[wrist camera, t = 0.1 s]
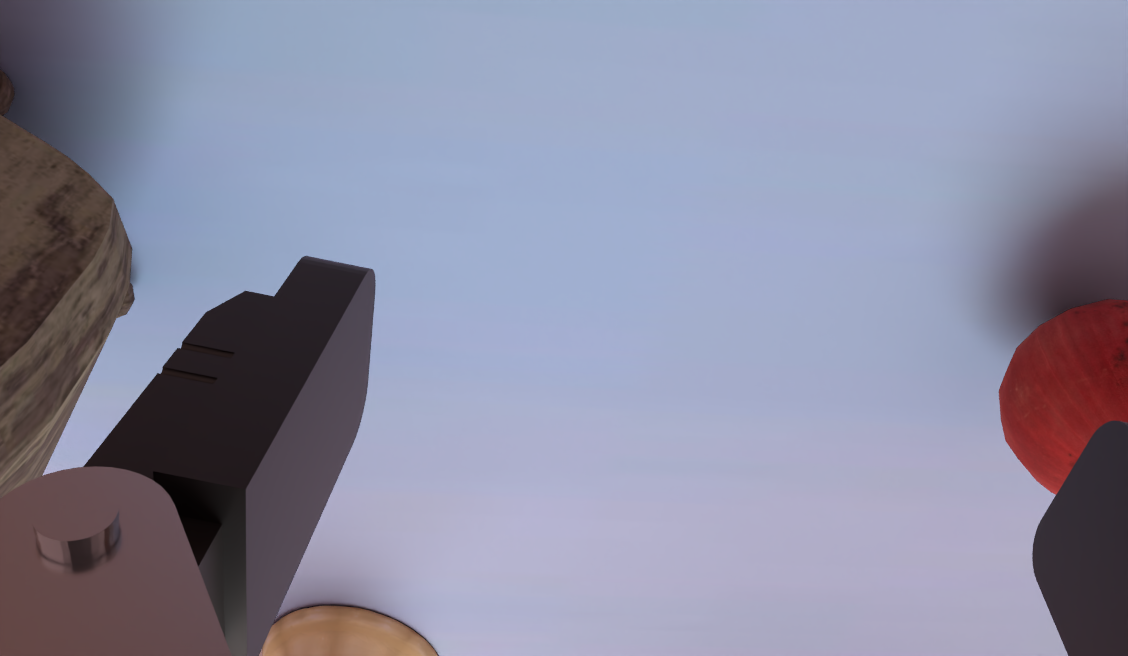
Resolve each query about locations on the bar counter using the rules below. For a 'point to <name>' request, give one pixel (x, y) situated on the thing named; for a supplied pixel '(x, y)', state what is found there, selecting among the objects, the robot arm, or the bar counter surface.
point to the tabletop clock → (50, 292)
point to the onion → (1066, 388)
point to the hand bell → (342, 634)
